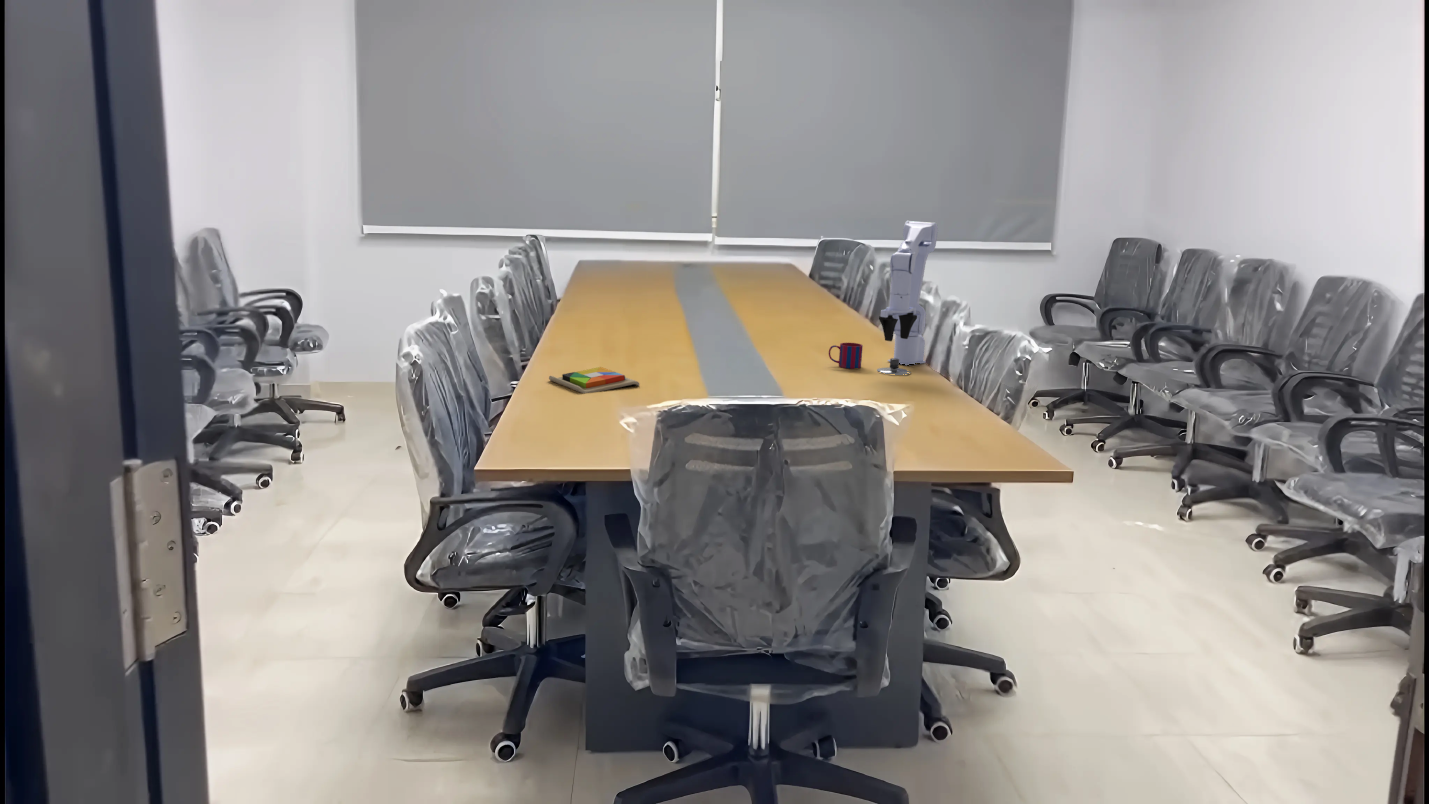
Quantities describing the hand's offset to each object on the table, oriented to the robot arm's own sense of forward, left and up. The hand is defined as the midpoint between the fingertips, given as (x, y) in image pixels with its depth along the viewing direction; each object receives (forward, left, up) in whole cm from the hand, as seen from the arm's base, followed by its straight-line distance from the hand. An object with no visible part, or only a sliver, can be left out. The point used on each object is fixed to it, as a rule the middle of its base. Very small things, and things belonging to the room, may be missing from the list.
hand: (896, 339), depth 320 cm
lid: (0, 0, -10) cm, 10 cm away
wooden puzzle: (+84, -36, -10) cm, 92 cm away
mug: (+6, -14, -10) cm, 18 cm away
